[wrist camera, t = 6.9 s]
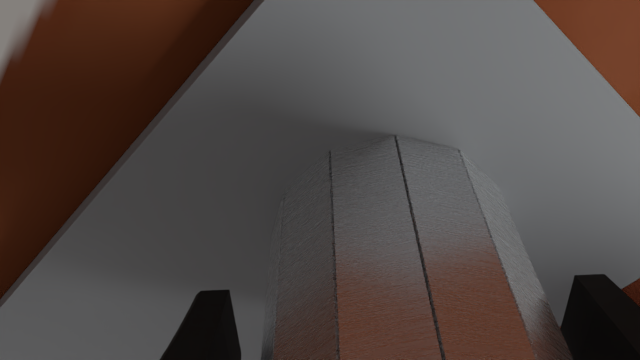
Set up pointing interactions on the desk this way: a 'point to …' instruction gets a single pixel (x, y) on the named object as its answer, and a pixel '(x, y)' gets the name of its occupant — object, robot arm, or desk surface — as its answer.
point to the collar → (402, 263)
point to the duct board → (325, 135)
